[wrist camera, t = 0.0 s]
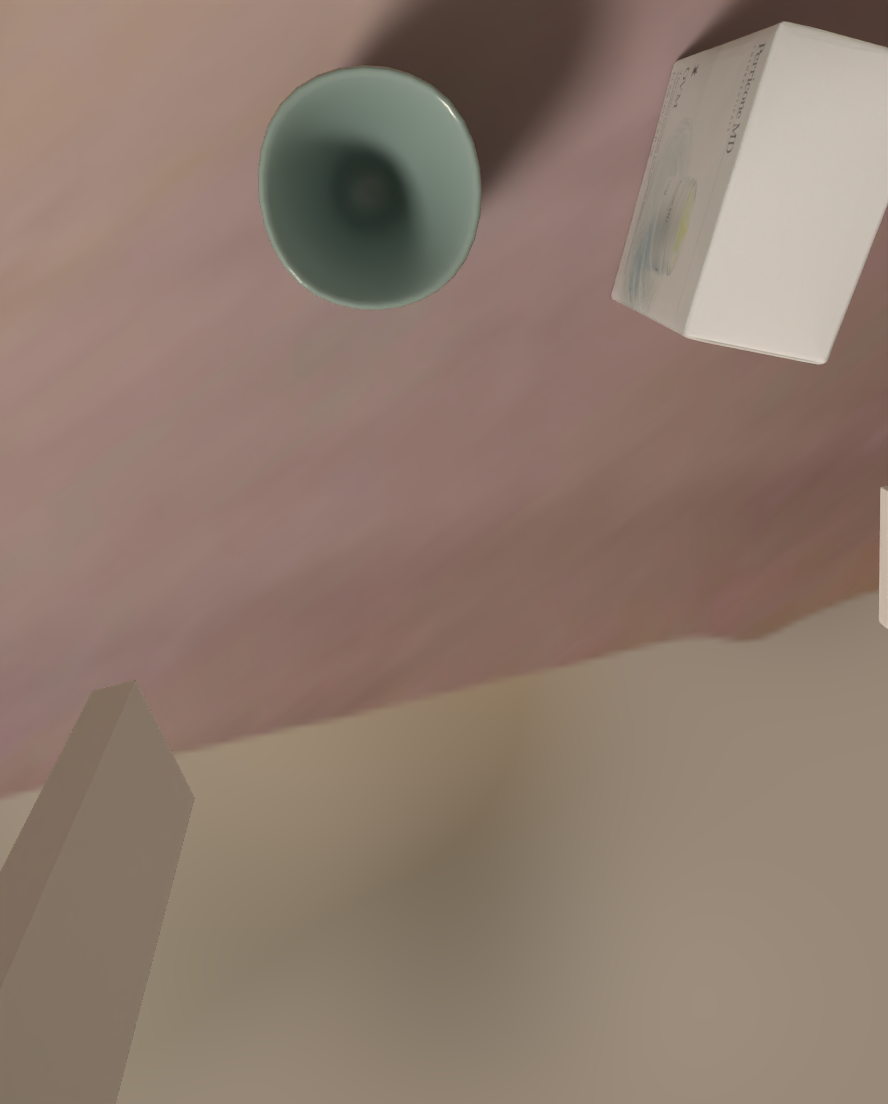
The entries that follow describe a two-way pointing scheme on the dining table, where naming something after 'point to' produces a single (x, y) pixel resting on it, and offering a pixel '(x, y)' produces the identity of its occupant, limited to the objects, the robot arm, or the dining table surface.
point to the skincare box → (762, 192)
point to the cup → (369, 187)
